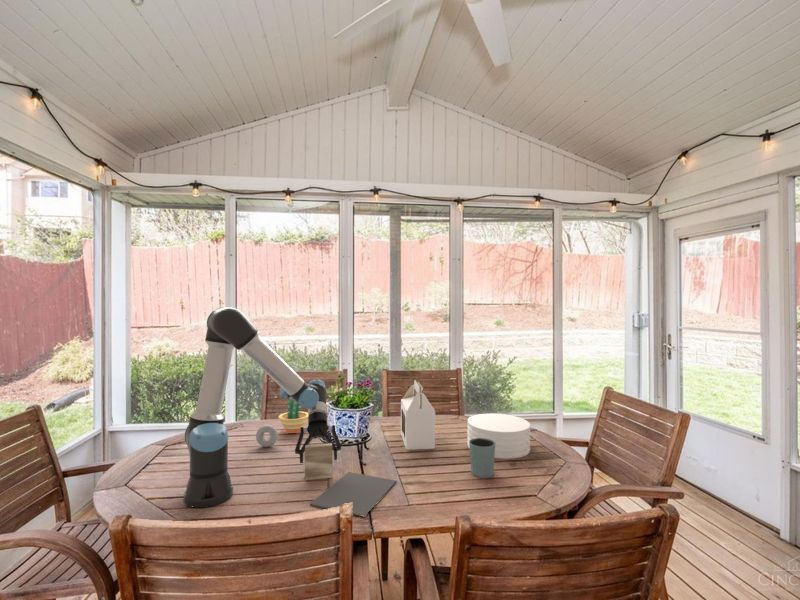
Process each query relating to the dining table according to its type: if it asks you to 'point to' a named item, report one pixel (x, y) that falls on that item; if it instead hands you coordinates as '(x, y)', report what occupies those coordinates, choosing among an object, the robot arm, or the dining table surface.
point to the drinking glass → (482, 457)
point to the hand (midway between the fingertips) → (318, 469)
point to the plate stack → (501, 433)
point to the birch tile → (318, 461)
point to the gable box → (417, 419)
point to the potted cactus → (293, 417)
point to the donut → (267, 442)
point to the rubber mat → (355, 492)
